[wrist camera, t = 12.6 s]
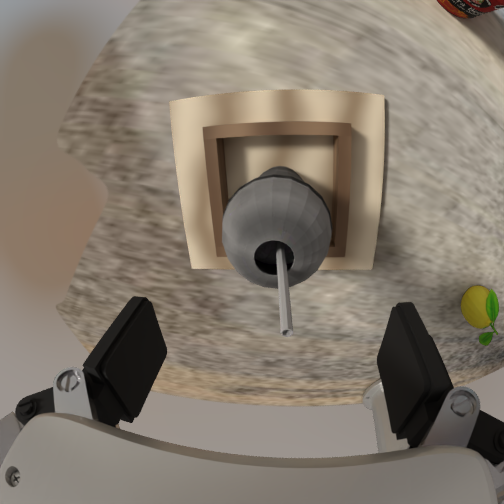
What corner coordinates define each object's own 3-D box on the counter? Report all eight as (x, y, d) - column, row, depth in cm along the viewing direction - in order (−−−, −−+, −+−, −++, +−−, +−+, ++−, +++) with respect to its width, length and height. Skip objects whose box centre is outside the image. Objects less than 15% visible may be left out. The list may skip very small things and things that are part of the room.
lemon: (462, 314, 34) (488, 357, 25) (445, 301, 33) (472, 348, 25) (488, 283, 31) (519, 323, 22) (472, 267, 30) (507, 309, 21)
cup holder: (380, 95, 23) (394, 93, 20) (370, 265, 32) (378, 283, 29) (172, 101, 26) (157, 100, 22) (194, 264, 35) (184, 281, 32)
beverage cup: (285, 138, 26) (284, 181, 8) (329, 193, 28) (390, 324, 10) (231, 182, 29) (144, 296, 11) (275, 232, 31) (257, 389, 13)
